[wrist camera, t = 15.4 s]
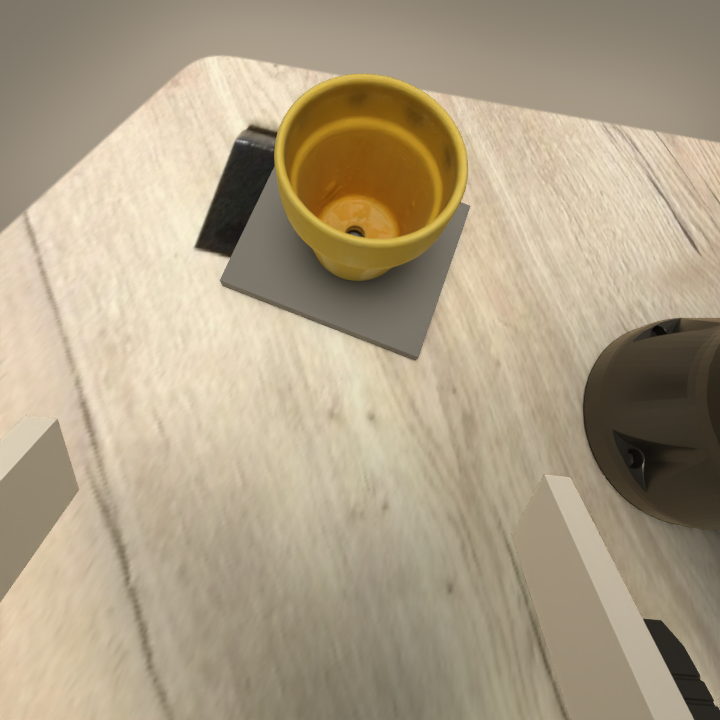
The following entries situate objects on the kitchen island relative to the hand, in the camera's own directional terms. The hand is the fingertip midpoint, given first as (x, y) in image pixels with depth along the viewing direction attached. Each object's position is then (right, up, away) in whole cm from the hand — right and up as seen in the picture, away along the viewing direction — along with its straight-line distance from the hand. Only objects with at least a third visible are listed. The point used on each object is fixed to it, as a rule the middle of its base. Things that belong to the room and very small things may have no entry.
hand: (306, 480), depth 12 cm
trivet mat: (+1, +12, +21) cm, 24 cm away
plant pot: (+1, +12, +20) cm, 24 cm away
